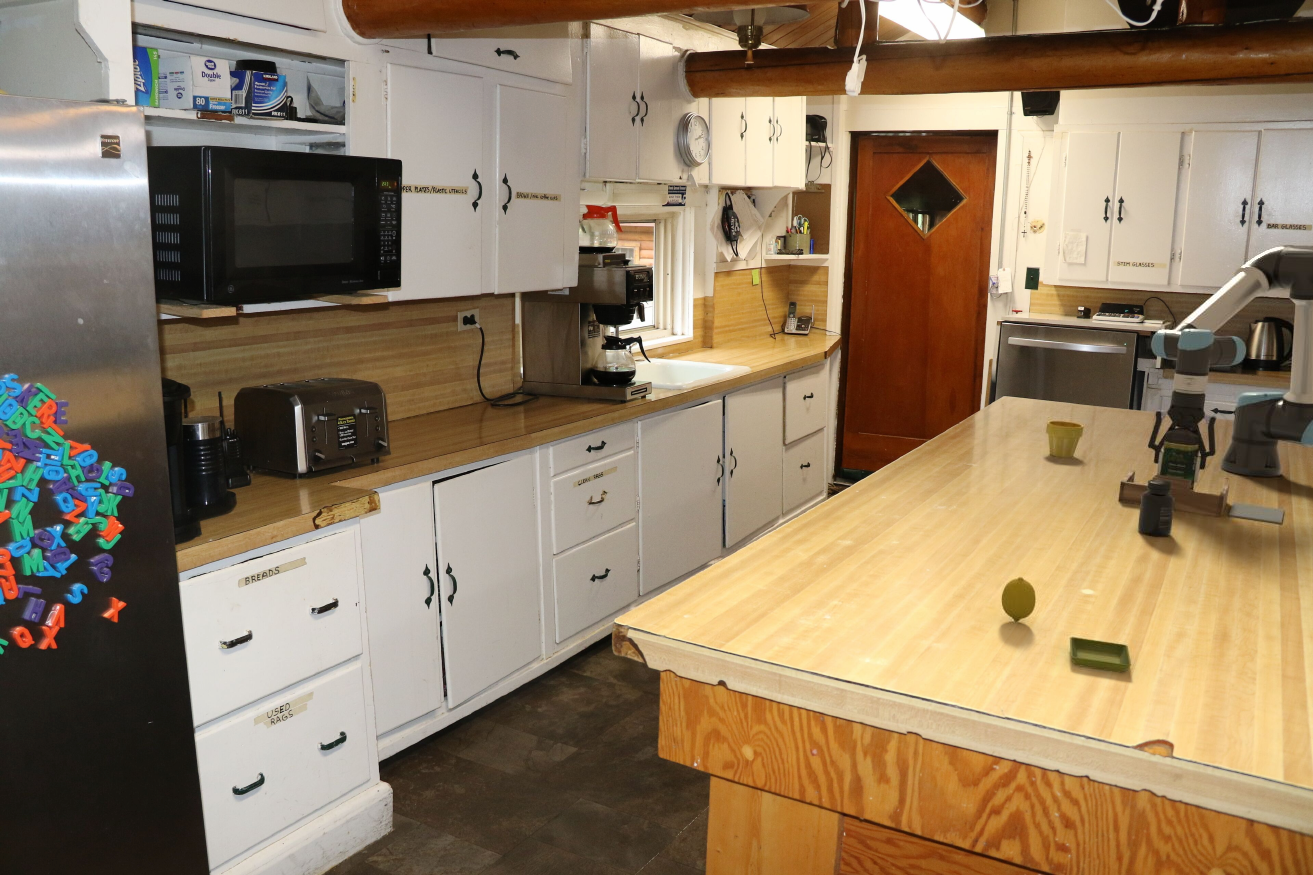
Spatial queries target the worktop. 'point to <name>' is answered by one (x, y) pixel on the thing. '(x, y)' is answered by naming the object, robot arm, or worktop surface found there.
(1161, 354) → the robot arm
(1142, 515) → the supplement bottle
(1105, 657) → the green tray
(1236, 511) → the mat
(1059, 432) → the plant pot
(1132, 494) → the wooden open enclosure
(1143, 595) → the worktop surface
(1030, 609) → the lemon
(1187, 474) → the coffee jar
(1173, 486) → the offcut top
